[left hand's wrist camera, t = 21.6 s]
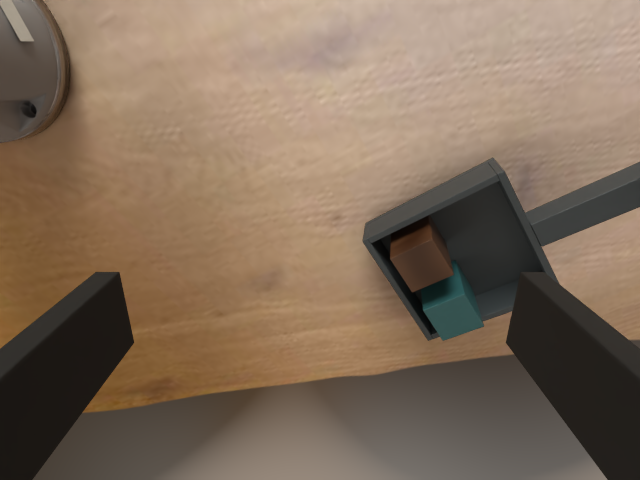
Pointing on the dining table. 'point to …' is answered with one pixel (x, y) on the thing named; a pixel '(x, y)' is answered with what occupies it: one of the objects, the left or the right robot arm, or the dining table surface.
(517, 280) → the tray
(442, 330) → the teal block
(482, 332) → the dining table surface
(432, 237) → the walnut block
